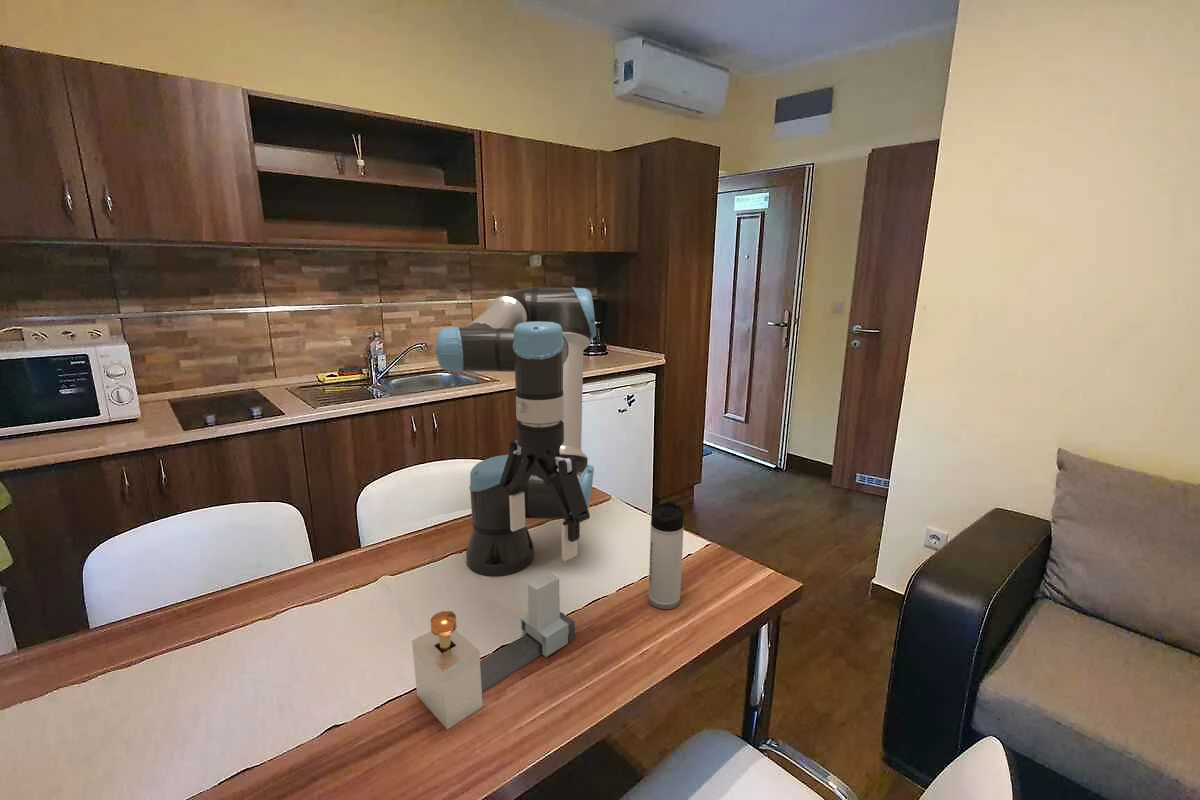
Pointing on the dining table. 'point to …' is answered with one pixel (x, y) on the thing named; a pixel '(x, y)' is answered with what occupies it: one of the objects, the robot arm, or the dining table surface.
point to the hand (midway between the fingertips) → (542, 542)
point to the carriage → (545, 615)
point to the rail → (466, 671)
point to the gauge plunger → (443, 628)
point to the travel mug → (666, 555)
